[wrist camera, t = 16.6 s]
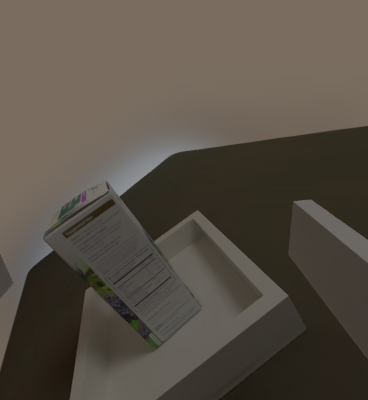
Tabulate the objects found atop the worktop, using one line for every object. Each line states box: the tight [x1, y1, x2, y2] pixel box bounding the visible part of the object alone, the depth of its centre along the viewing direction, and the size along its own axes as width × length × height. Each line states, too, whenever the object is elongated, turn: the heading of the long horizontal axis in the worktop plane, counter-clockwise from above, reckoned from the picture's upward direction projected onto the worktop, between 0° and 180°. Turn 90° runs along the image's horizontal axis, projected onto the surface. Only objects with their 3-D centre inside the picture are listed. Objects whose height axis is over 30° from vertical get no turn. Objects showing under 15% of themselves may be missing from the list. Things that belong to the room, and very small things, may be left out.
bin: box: [70, 210, 307, 400], centre depth 24 cm, size 18×18×4 cm
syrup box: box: [43, 181, 201, 349], centre depth 22 cm, size 6×6×14 cm
